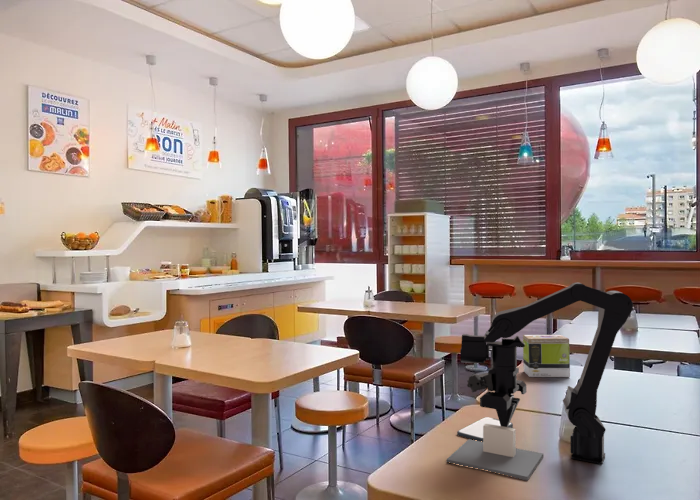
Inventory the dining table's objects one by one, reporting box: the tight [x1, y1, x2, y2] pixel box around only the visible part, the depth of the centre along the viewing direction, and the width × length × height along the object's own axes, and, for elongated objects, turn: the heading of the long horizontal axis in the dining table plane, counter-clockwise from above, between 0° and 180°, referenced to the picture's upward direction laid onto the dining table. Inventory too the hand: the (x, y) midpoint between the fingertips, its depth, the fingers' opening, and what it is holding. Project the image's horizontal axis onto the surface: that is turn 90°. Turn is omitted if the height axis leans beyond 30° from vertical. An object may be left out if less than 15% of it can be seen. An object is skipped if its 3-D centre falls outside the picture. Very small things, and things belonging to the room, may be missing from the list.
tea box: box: [522, 334, 571, 378], centre depth 207 cm, size 15×10×15 cm, turn 84°
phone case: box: [456, 416, 514, 442], centre depth 144 cm, size 9×2×16 cm
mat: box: [445, 438, 544, 481], centre depth 125 cm, size 18×15×1 cm
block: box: [483, 424, 517, 457], centre depth 127 cm, size 7×2×6 cm, turn 58°
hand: (504, 429), depth 131 cm, fingers closed
